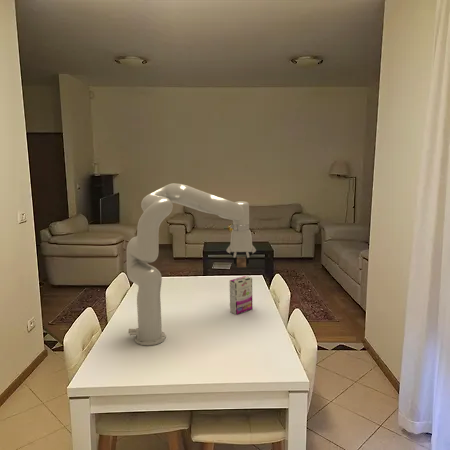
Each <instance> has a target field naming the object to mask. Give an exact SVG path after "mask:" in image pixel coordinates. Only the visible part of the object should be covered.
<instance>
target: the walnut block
mask: <svg viewBox="0 0 450 450" xmlns="http://www.w3.org/2000/svg"><path fill="white" fill-rule="evenodd" d="M236 268H247V266H246V256H237V266H236Z"/></svg>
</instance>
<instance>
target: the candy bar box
mask: <svg viewBox="0 0 450 450" xmlns="http://www.w3.org/2000/svg"><path fill="white" fill-rule="evenodd" d="M250 310H253V277H252V276H248V275H244V276H241V277H240V276H239V277H237V278H234V279H230V280H229V311H230V313H231V314H234V315H235V316H238V315H240V314H243V313H246V312H248V311H250Z"/></svg>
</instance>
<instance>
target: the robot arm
mask: <svg viewBox="0 0 450 450" xmlns="http://www.w3.org/2000/svg"><path fill="white" fill-rule="evenodd" d="M173 204H177V205H180V206H184V207H187V208H190V209H192V210H195V211H199V212H202V213H206V214H211V215H216V216H218V217H219V218H222V219H225V220H231V221H232V223H233V224H231V225H229V228H230V229H232V230H231V235H230V244H229V245H228V247H227V248H226V252H227V253H229V254H230V256H232V257H233V264H235V267H237V257H238V256H237V253H245V254H246V255H245V257H246V267H247V266H248V265H249V264H250V257H251V256H252V255H253V254H254V253H256V252H257V249H256V247H255V246H254V245H253V239H252V238H253V237H252V232H251V230H250V203H249V202H248V201H243V200H239V201H235V202H234V201H232V200H229V199H226V198H223V197H219V196H217V195H214V194H211V193H209V192H206V191H203V190H201V189H198V188H195V187H193V186H190V185H186V184H184V183H183V184H182V183H169V184H166V185H164V186H163V187H160V188H158V189H156V190H155V191H152V192H150V193H148V194H147V195H145V196H144V197H143V198H142V200H141V203H140V207H141V210H142V214H141V216H140V217H139V219H138V222H137V229H136V231H137V232H136V233H137V234H136V236H133V237H132V238H131V239H130V240H129V241H128V242H127V246H126V275H127V278H128V280H129V281H130V282H132V283H133V284H135V285H137V287H138V289H137V290H138V291H137V294H136V307H137V309H136V310H137V327H136V328H128V334H129V336H135V337H134V341H135V343H136V344H138V345H141V346H155V345H159V344H161V343H163V342H164V341H165V340H166V337H167V336H166V333H165V332H164V331H163V329H162V304H161V303H162V302H161V290H162V283H163V282H162V281H163V278H162V273H161V271H160V270H159V269H157V267H155V266H153V265H151V263H154V262H156V260H157V259H158V257H159V250H160V249H159V247H160V246H159V242H160V241H159V234H160V232H159V231H160V226H161V224H162V222H163V221H164V220H165V219H166V218H167V217H169V216H170V214H171V213H172V211H173V207H174V205H173Z"/></svg>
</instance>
